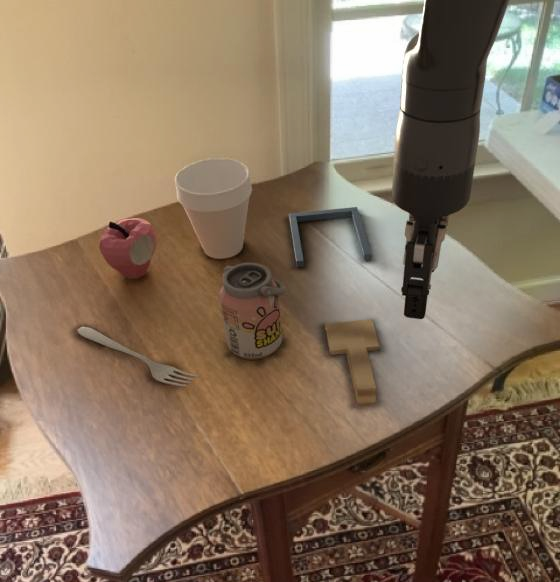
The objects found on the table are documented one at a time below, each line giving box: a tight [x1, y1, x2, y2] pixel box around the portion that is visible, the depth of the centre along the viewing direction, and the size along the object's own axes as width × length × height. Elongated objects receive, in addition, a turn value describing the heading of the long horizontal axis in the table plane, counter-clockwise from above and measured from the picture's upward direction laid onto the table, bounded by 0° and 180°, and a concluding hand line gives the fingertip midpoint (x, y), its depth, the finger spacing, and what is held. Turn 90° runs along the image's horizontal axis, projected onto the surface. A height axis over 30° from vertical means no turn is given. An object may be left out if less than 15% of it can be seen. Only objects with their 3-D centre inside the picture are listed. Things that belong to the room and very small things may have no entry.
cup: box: [174, 157, 253, 260], centre depth 110 cm, size 12×12×14 cm
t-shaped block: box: [324, 318, 380, 405], centre depth 91 cm, size 16×7×3 cm, turn 4°
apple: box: [98, 217, 158, 280], centre depth 108 cm, size 10×9×10 cm
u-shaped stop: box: [288, 206, 372, 268], centre depth 114 cm, size 15×12×1 cm
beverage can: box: [218, 262, 287, 361], centre depth 92 cm, size 9×8×12 cm
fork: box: [77, 326, 199, 388], centre depth 95 cm, size 3×24×2 cm, turn 53°
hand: (419, 292), depth 73 cm, fingers open, 8 cm apart
